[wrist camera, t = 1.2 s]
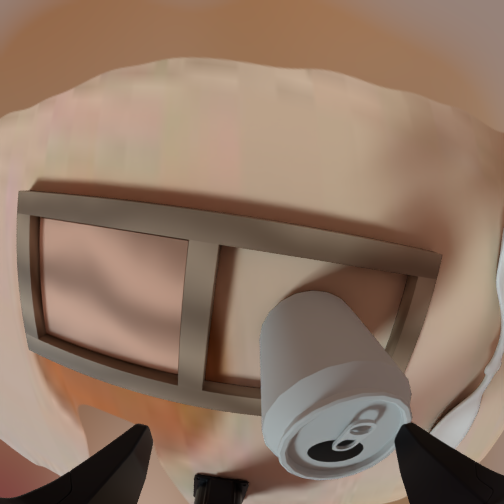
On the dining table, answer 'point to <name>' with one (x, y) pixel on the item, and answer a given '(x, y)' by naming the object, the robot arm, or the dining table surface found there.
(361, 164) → the dining table surface
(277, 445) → the can
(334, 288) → the dining table surface
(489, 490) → the robot arm
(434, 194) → the dining table surface
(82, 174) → the dining table surface
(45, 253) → the ladder rack
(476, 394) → the spoon
